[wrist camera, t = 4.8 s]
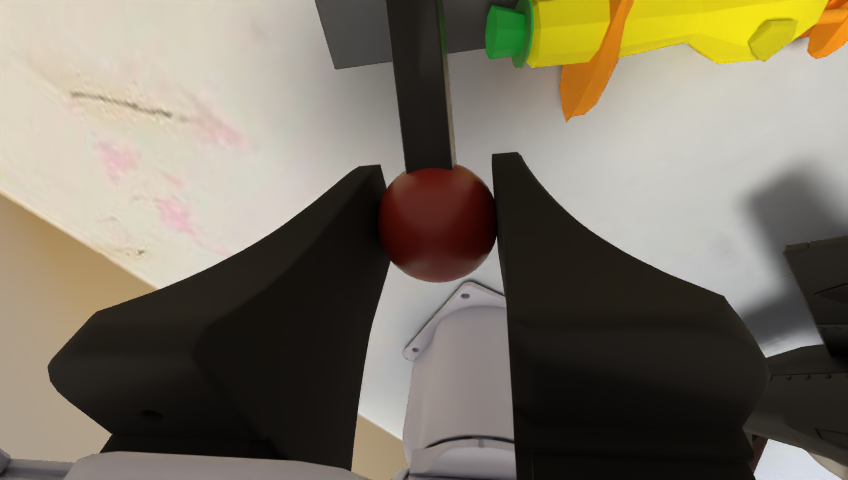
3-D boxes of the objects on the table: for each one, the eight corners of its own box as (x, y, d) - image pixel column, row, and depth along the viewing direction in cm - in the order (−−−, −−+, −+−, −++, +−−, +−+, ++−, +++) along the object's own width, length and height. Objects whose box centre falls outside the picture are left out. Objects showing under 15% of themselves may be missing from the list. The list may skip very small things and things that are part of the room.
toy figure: (785, 127, 17) (485, 156, 17) (748, 63, 18) (473, 91, 18) (979, -53, 11) (506, -6, 11) (897, -126, 12) (486, -83, 12)
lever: (501, 256, 12) (502, 301, 9) (400, 260, 13) (371, 304, 10) (473, -226, 9) (461, -381, 6) (340, -191, 9) (273, -317, 7)
